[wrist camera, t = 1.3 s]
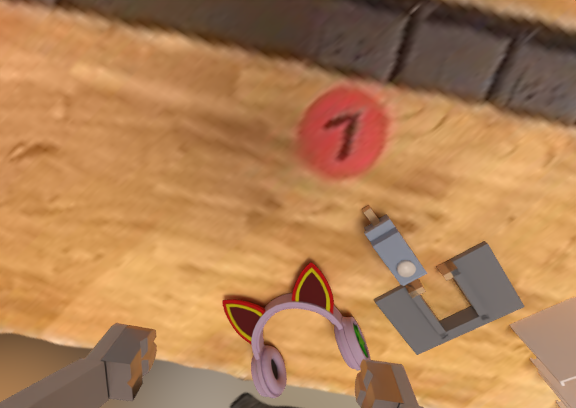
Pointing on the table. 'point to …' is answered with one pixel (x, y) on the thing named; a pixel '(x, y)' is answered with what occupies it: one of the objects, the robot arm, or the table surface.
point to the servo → (392, 248)
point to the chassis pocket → (475, 286)
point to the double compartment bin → (553, 347)
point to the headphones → (306, 295)
